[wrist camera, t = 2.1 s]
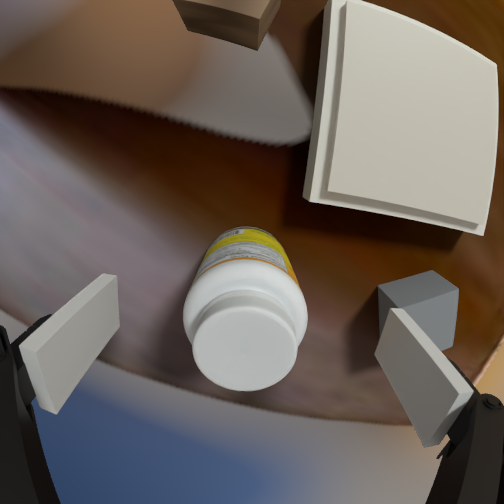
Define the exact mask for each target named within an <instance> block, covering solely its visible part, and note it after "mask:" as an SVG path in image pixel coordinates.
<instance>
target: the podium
mask: <svg viewBox="0 0 504 504" xmlns="http://www.w3.org/2000/svg"><path fill="white" fill-rule="evenodd" d="M497 137H498V78H497V64H495V63H494V62H492V61H491V60H489V59H488V58H486V57H484V56H483V55H481V54H480V53H478V52H476V51H475V50H473V49H471V48H469V47H468V46H466V45H464V44H462V43H461V42H459V41H457V40H455V39H453V38H451V37H449V36H447V35H446V34H444V33H442V32H440V31H437V30H435V29H433V28H431V27H429V26H427V25H425V24H422V23H420V22H418V21H416V20H413V19H411V18H408V17H406V16H404V15H401V14H398V13H396V12H393V11H391V10H388V9H385V8H382V7H379V6H376V5H373V4H370V3H367V2H364V1H361V0H328V2H327V4H326V6H325V8H324V19H323V31H322V42H321V53H320V63H319V72H318V82H317V91H316V100H315V108H314V116H313V124H312V132H311V140H310V148H309V155H308V162H307V169H306V176H305V183H304V190H303V198H305V199H306V200H308V201H309V202H315V203H322V204H328V205H334V206H340V207H346V208H352V209H358V210H364V211H369V212H375V213H380V214H385V215H391V216H396V217H401V218H406V219H411V220H416V221H420V222H425V223H430V224H435V225H439V226H444V227H448V228H452V229H457V230H461V231H465V232H470V233H474V234H478V235H482V236H483V235H484V231H485V226H486V221H487V216H488V211H489V205H490V200H491V193H492V187H493V180H494V171H495V162H496V151H497Z"/></svg>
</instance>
